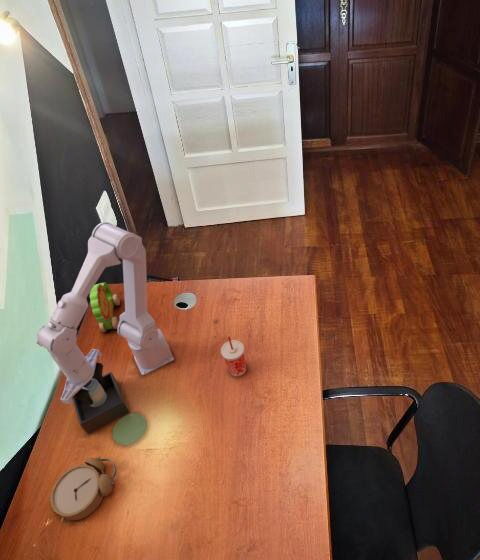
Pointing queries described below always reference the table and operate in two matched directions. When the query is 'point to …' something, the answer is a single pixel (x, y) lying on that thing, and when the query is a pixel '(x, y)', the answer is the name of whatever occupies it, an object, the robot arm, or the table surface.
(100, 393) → the bottle
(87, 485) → the alarm clock
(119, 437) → the coaster
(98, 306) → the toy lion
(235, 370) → the beverage cup
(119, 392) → the bin
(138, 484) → the table surface
